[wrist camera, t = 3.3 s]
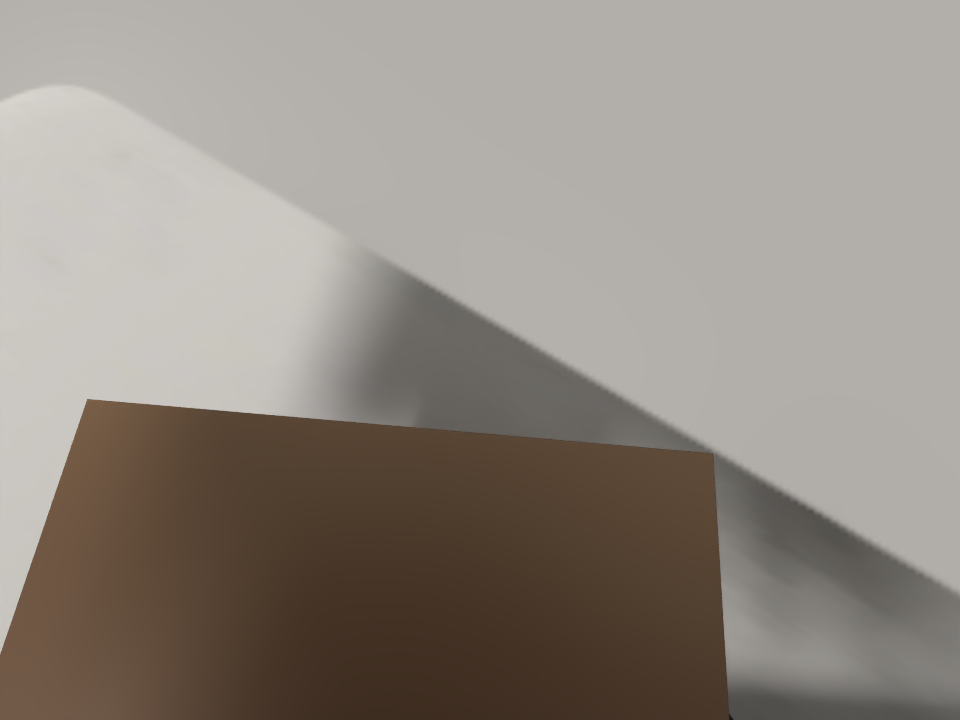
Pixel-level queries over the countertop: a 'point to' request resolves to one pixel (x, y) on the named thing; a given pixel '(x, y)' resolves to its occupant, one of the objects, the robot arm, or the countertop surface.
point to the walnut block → (366, 576)
